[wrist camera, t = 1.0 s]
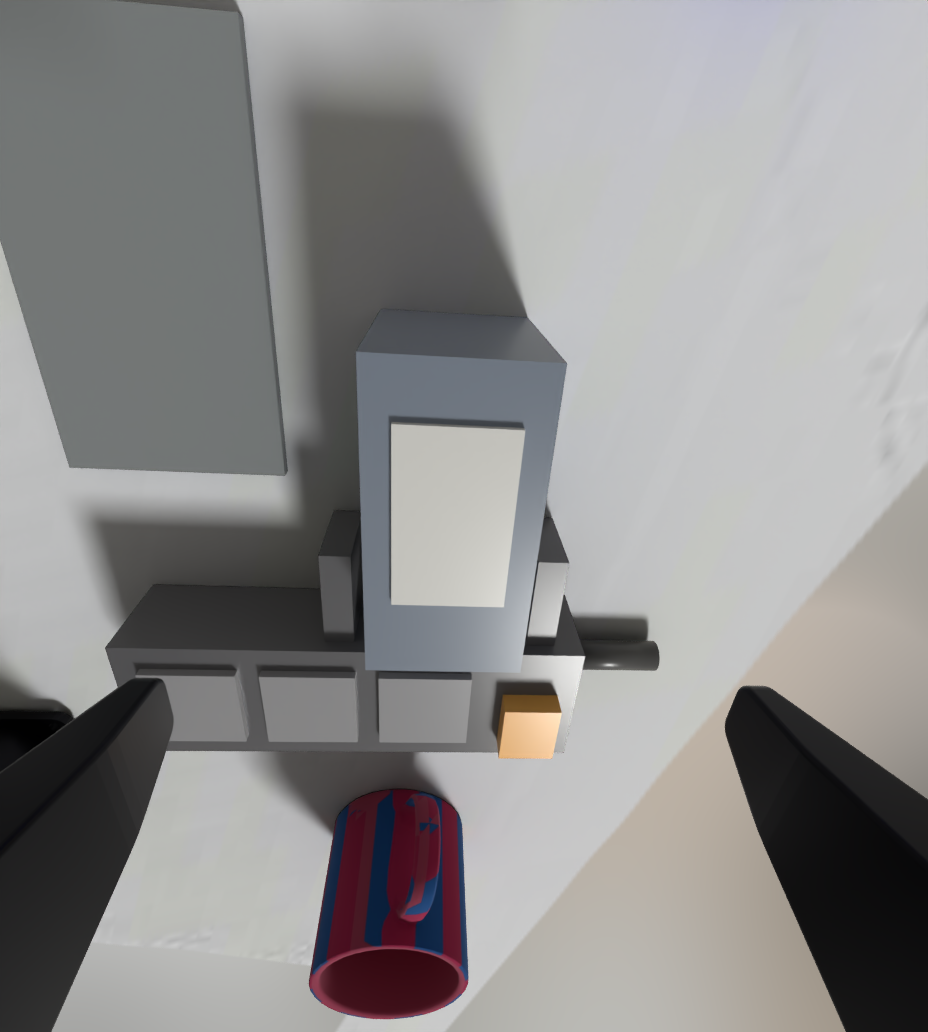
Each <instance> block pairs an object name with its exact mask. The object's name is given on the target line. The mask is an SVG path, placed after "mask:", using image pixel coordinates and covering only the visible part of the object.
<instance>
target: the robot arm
mask: <svg viewBox="0 0 928 1032" xmlns="http://www.w3.org/2000/svg"><path fill="white" fill-rule="evenodd" d="M173 725H174V716H173V711H172V708H171V704H170V700H169V696H168V693H167V689H166V685H165V683H164V681H163V680H162V679H160V678H132V679H130V680H128V681H127V682H125V683H124V684H122V685H121V686H120V687H118V688H117V689H115V690H114V691H113V692H111V693H110V694H108V695H107V696H106V697H104V698H103V699H102V700H100V701H99V702H97V703H96V704H95V705H93V706H92V707H90V708H89V709H88V710H86V711H85V712H83V713H82V714H81V715H79V716H78V717H76V718H75V719H74V720H72V718H71V717H70V716H69V715H67V714H65V713H62V712H21V711H0V1032H51V1031H52V1029H53V1027H54V1024H55V1022H56V1020H57V1018H58V1015H59V1013H60V1011H61V1009H62V1006H63V1004H64V1002H65V1000H66V997H67V995H68V993H69V990H70V988H71V986H72V984H73V982H74V979H75V977H76V975H77V973H78V970H79V968H80V966H81V964H82V961H83V959H84V957H85V954H86V952H87V950H88V948H89V945H90V943H91V941H92V939H93V936H94V934H95V932H96V930H97V927H98V925H99V923H100V921H101V918H102V916H103V914H104V912H105V909H106V907H107V905H108V903H109V900H110V898H111V896H112V894H113V891H114V889H115V887H116V885H117V882H118V880H119V878H120V876H121V873H122V871H123V869H124V867H125V864H126V862H127V860H128V858H129V855H130V853H131V851H132V848H133V846H134V843H135V841H136V839H137V836H138V834H139V831H140V828H141V825H142V822H143V820H144V817H145V814H146V811H147V808H148V805H149V801H150V798H151V795H152V792H153V789H154V786H155V783H156V780H157V777H158V774H159V771H160V768H161V765H162V762H163V759H164V755H165V752H166V749H167V746H168V743H169V740H170V737H171V734H172V731H173ZM725 733H726V737H727V740H728V743H729V746H730V749H731V752H732V755H733V758H734V761H735V765H736V768H737V770H738V774H739V777H740V780H741V783H742V786H743V789H744V792H745V795H746V798H747V801H748V804H749V807H750V810H751V813H752V816H753V819H754V821H755V824H756V827H757V830H758V832H759V835H760V837H761V839H762V842H763V844H764V847H765V849H766V851H767V854H768V856H769V858H770V860H771V863H772V865H773V867H774V869H775V872H776V874H777V876H778V879H779V881H780V883H781V885H782V888H783V890H784V892H785V894H786V897H787V899H788V901H789V904H790V906H791V908H792V910H793V912H794V915H795V917H796V920H797V922H798V924H799V926H800V929H801V931H802V933H803V935H804V938H805V940H806V942H807V945H808V947H809V949H810V951H811V953H812V956H813V958H814V960H815V963H816V965H817V967H818V970H819V972H820V974H821V976H822V979H823V981H824V983H825V985H826V988H827V990H828V992H829V995H830V997H831V999H832V1001H833V1004H834V1006H835V1008H836V1011H837V1013H838V1015H839V1017H840V1020H841V1022H842V1024H843V1026H844V1029H845V1031H846V1032H928V799H927V798H925V797H924V796H922V795H921V794H919V793H918V792H917V791H915V790H914V789H912V788H911V787H909V786H908V785H907V784H905V783H904V782H903V781H901V780H900V779H898V778H897V777H895V776H894V775H893V774H891V773H890V772H888V771H887V770H885V769H884V768H883V767H881V766H880V765H879V764H877V763H876V762H874V761H873V760H871V759H870V758H869V757H867V756H866V755H865V754H863V753H862V752H860V751H859V750H857V749H856V748H855V747H853V746H852V745H850V744H849V743H848V742H846V741H845V740H843V739H842V738H840V737H839V736H838V735H836V734H835V733H834V732H832V731H830V730H829V729H828V728H826V727H825V726H823V725H822V724H821V723H819V722H818V721H816V720H815V719H814V718H812V717H811V716H810V715H808V714H807V713H805V712H804V711H802V710H801V709H800V708H798V707H797V706H795V705H794V704H793V703H791V702H790V701H788V700H787V699H786V698H784V697H783V696H781V695H780V694H778V693H777V692H776V691H774V690H773V689H771V688H769V687H766V686H743V687H741V688H740V689H739V690H738V692H737V694H736V696H735V699H734V701H733V704H732V706H731V708H730V711H729V713H728V716H727V718H726V721H725Z"/></svg>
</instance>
